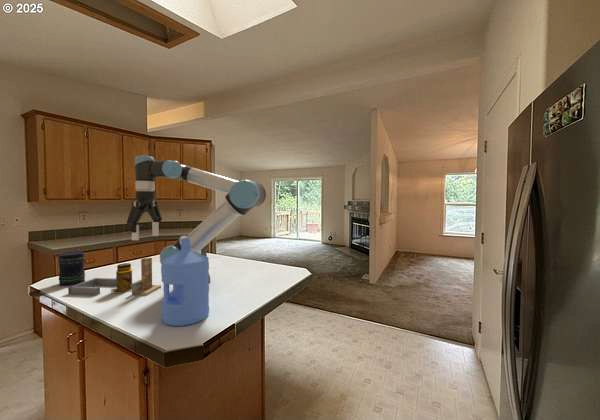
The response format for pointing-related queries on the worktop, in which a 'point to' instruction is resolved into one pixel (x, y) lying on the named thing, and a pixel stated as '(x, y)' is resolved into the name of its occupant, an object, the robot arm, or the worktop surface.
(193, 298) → the water jug
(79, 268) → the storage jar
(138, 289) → the scraper
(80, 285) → the tray
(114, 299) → the worktop surface
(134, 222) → the robot arm
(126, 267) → the condiment
